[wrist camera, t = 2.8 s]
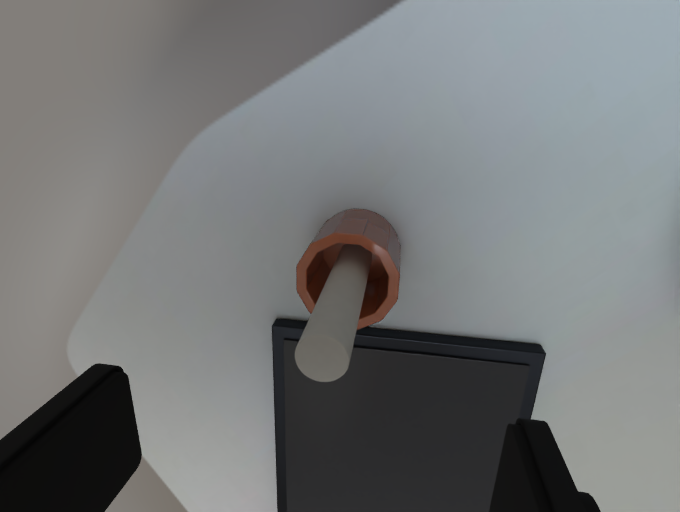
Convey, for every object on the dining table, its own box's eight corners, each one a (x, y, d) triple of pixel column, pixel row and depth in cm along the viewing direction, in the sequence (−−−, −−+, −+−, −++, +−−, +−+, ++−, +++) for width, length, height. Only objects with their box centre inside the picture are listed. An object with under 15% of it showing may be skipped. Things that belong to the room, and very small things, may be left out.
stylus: (340, 265, 24) (294, 379, 14) (341, 235, 23) (293, 331, 13) (372, 268, 23) (348, 385, 13) (373, 238, 23) (350, 337, 13)
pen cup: (316, 283, 25) (296, 324, 20) (317, 205, 23) (295, 230, 18) (396, 290, 24) (394, 333, 19) (403, 211, 22) (403, 237, 18)
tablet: (282, 539, 33) (277, 554, 32) (276, 317, 26) (270, 327, 25) (488, 575, 31) (491, 592, 30) (541, 344, 24) (547, 355, 23)
